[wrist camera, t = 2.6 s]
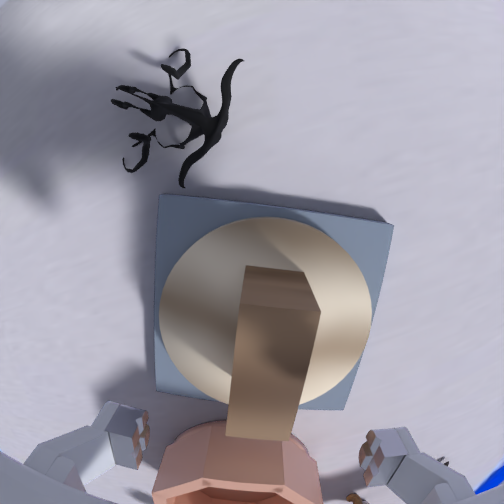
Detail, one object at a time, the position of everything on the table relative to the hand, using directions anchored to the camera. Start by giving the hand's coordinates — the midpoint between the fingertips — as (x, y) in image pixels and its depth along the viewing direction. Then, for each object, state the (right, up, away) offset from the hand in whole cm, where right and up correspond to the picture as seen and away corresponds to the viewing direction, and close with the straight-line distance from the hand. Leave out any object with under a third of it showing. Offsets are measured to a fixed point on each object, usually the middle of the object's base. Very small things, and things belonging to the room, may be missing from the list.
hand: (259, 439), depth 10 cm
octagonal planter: (-1, -12, +13) cm, 17 cm away
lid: (+1, +3, +8) cm, 9 cm away
